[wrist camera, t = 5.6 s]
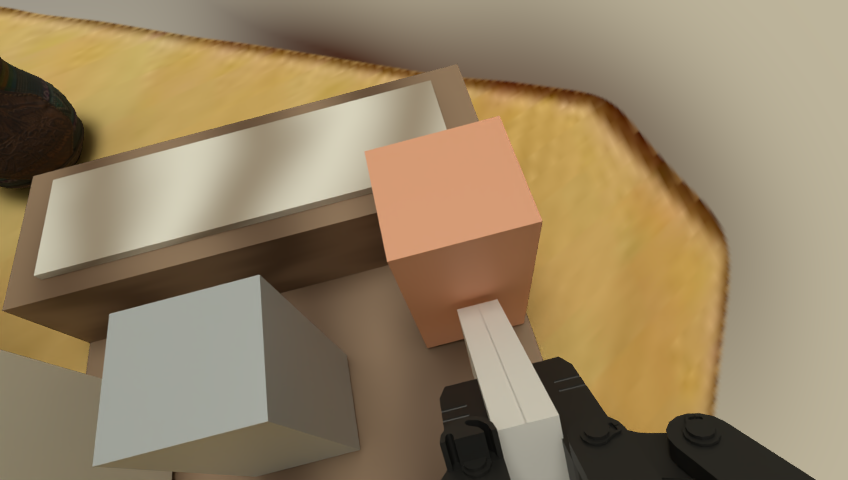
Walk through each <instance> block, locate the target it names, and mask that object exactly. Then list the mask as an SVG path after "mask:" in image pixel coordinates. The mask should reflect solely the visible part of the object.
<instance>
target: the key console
mask: <svg viewBox="0 0 848 480" xmlns="http://www.w3.org/2000/svg"><path fill="white" fill-rule="evenodd" d="M478 121H479V120H478V118H477V115H476V112H475V110H474V107H473V104H472V102H471V99H470V96H469V94H468V91H467V88H466V86H465V83H464V80H463V78H462V75H461V72H460V70H459V67H458V65H457V64H456V65H452V66H449V67H445V68H441V69H437V70H434V71H430V72H426V73H422V74H418V75H415V76H411V77H407V78H403V79H399V80H396V81H392V82H388V83H384V84H381V85H377V86H373V87H369V88H365V89H362V90H358V91H354V92H350V93H346V94H343V95H339V96H335V97H331V98H328V99H324V100H320V101H316V102H312V103H309V104H305V105H301V106H297V107H293V108H290V109H286V110H282V111H278V112H275V113H271V114H267V115H263V116H259V117H256V118H252V119H248V120H244V121H240V122H237V123H233V124H229V125H225V126H222V127H218V128H214V129H210V130H206V131H203V132H199V133H195V134H191V135H188V136H184V137H180V138H176V139H172V140H169V141H165V142H161V143H157V144H153V145H150V146H146V147H142V148H138V149H135V150H131V151H127V152H123V153H119V154H116V155H112V156H108V157H104V158H100V159H97V160H93V161H89V162H85V163H82V164H78V165H74V166H70V167H66V168H63V169H59V170H55V171H51V172H47V173H44V174H40V175H36V176H33V180H32V184H31V188H30V193H29V197H28V201H27V206H26V210H25V214H24V219H23V223H22V227H21V232H20V236H19V240H18V245H17V249H16V253H15V258H14V262H13V266H12V271H11V275H10V279H9V284H8V288H7V292H6V297H5V301H4V305H3V310H2V311H5V312H7V313H10V314H13V315H15V316H18V317H21V318H24V319H26V320H29V321H32V322H34V323H37V324H40V325H43V326H45V327H48V328H51V329H54V330H56V331H59V332H62V333H64V334H67V335H70V336H73V337H75V338H78V339H81V340H83V341H86V342H89V343H90V348H89V356H88V363H87V371H86V374H87V375H90V376H94V377H97V378H101V379H102V376H103V367H104V358H105V349H106V340H107V331H108V322H109V314H111V313H115V312H119V311H122V310H126V309H130V308H134V307H138V306H142V305H145V304H149V303H153V302H157V301H161V300H164V299H168V298H172V297H176V296H180V295H184V294H187V293H191V292H195V291H199V290H203V289H207V288H210V287H214V286H218V285H222V284H226V283H230V282H233V281H237V280H241V279H245V278H249V277H252V276H256V275H261V276H262V277H263V278H264V279H265V280H266V281H267V282H268V283H269V284H270V285H271V286H272V287H274V288H275V289H276V290H277V291H278V292H279V293H280V294H281V295H282V296H283V297H284V298H285V299H287V300H288V301H289V302H290V303H291V304H292V305H293V306H294V307H295V308H296V309H297V310H298V311H299V312H301V313H302V314H303V315H304V316H305V317H306V318H307V319H308V320H309V321H310V322H311V323H312V324H314V325H315V326H316V327H317V328H318V329H319V330H320V331H321V332H322V333H323V334H324V335H325V336H326V337H328V338H329V339H330V340H331V341H332V342H333V343H334V344H335V345H336V346H337V347H338V348H339V349H341V350H342V351H343V352H344V353H345V354H346V355H347V361H348V368H349V375H350V382H351V389H352V396H353V403H354V410H355V417H356V424H357V431H358V438H359V445H360V450H358V451H354V452H350V453H346V454H342V455H339V456H335V457H331V458H327V459H323V460H319V461H315V462H311V463H307V464H304V465H300V466H296V467H292V468H288V469H284V470H280V471H276V472H273V473H269V474H265V475H261V476H257V477H252V476H236V475H219V474H203V473H187V472H172V480H441V479H442V478H443V476H444V474H445V473H446V471H447V467H446V464H445V460H444V457H443V453H442V450H441V446H440V437H441V434H442V433H443V431H444V426H443V419H442V412H441V406H440V396H441V394H442V392H443V389H444V387H446V386H450V385H454V384H458V383H462V382H466V381H470V380H474V376H473V372H472V368H471V364H470V360H469V356H468V352H467V348H466V344H465V340H464V339H462V340H458V341H454V342H450V343H446V344H442V345H439V346H435V347H431V348H427V346H426V344H425V342H424V340H423V338H422V336H421V334H420V331H419V329H418V327H417V325H416V323H415V321H414V318H413V316H412V314H411V312H410V310H409V308H408V306H407V303H406V301H405V299H404V297H403V295H402V293H401V290H400V288H399V286H398V284H397V282H396V280H395V278H394V275H393V273H392V271H391V269H390V267H389V265H388V262H387V259H386V254H385V249H384V244H383V239H382V234H381V229H380V225H379V220H378V215H377V210H376V205H375V200H374V196H373V191H372V186H371V181H370V176H369V171H368V167H367V162H366V157H365V152H364V151H368V150H372V149H375V148H379V147H383V146H387V145H391V144H394V143H398V142H402V141H406V140H410V139H413V138H417V137H421V136H425V135H429V134H432V133H436V132H440V131H444V130H448V129H451V128H455V127H459V126H463V125H467V124H470V123H474V122H478ZM512 328H513V329H514V331H515V333H516V335H517V337H518V339H519V341H520V343H521V344H522V346H523V348H524V350H525V352H526V354H527V356H528V358H529V360H530V361H531V363H536V362H540V361H543V359H542V356H541V353H540V350H539V348H538V345H537V342H536V339H535V336H534V333H533V330H532V328H531V325H530V322H529V319H528V316H527V313H526V315H525V321H524V323H523V324H520V325H516V326H512Z"/></svg>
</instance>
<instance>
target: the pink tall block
mask: <svg viewBox="0 0 848 480" xmlns="http://www.w3.org/2000/svg"><path fill="white" fill-rule="evenodd" d="M364 152H365V157H366V162H367V167H368V171H369V176H370V181H371V186H372V191H373V196H374V200H375V205H376V210H377V215H378V220H379V225H380V229H381V234H382V239H383V244H384V249H385V254H386V259H387V262H388V265H389V267H390V269H391V271H392V273H393V275H394V278H395V280H396V282H397V284H398V286H399V288H400V290H401V293H402V295H403V297H404V299H405V301H406V303H407V306H408V308H409V310H410V312H411V314H412V316H413V318H414V321H415V323H416V325H417V327H418V329H419V331H420V334H421V336H422V338H423V340H424V342H425V344H426V346H427V348H431V347H435V346H439V345H442V344H446V343H450V342H454V341H458V340H462V339H464V336H463V332H462V328H461V324H460V320H459V316H458V312H457V309H461V308H465V307H469V306H473V305H477V304H480V303H484V302H488V301H492V300H496V299H498V301H499V303H500V305H501V307H502V309H503V311H504V312H505V314H506V316H507V318H508V320H509V322H510V324H511V326H516V325H520V324H523V323H524V321H525V315H526V310H527V304H528V299H529V293H530V288H531V282H532V276H533V271H534V265H535V260H536V254H537V249H538V243H539V238H540V232H541V227H542V219H541V216H540V214H539V212H538V209H537V207H536V204H535V202H534V199H533V197H532V194H531V192H530V189H529V187H528V185H527V182H526V180H525V177H524V175H523V172H522V170H521V167H520V165H519V162H518V160H517V158H516V155H515V153H514V150H513V148H512V145H511V143H510V140H509V138H508V136H507V133H506V131H505V128H504V126H503V123H502V121H501V118H500V116H497V117H493V118H489V119H486V120H482V121H478V122H474V123H470V124H467V125H463V126H459V127H455V128H451V129H448V130H444V131H440V132H436V133H432V134H429V135H425V136H421V137H417V138H413V139H410V140H406V141H402V142H398V143H394V144H391V145H387V146H383V147H379V148H375V149H372V150H368V151H364Z"/></svg>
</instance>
